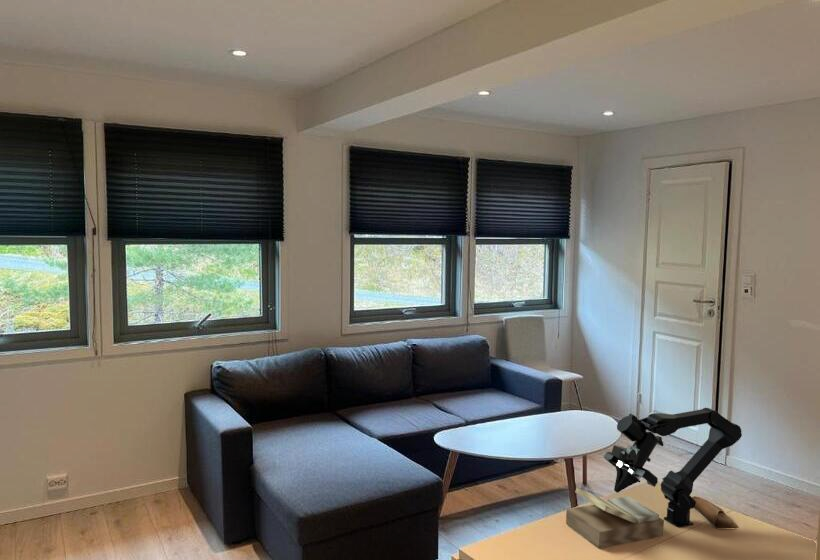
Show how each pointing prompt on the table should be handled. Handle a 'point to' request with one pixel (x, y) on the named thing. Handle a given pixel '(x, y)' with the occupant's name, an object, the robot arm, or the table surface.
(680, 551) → the table surface
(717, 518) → the sunglasses case
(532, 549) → the table surface
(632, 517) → the pale yellow square slab
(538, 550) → the table surface
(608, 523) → the floor base
